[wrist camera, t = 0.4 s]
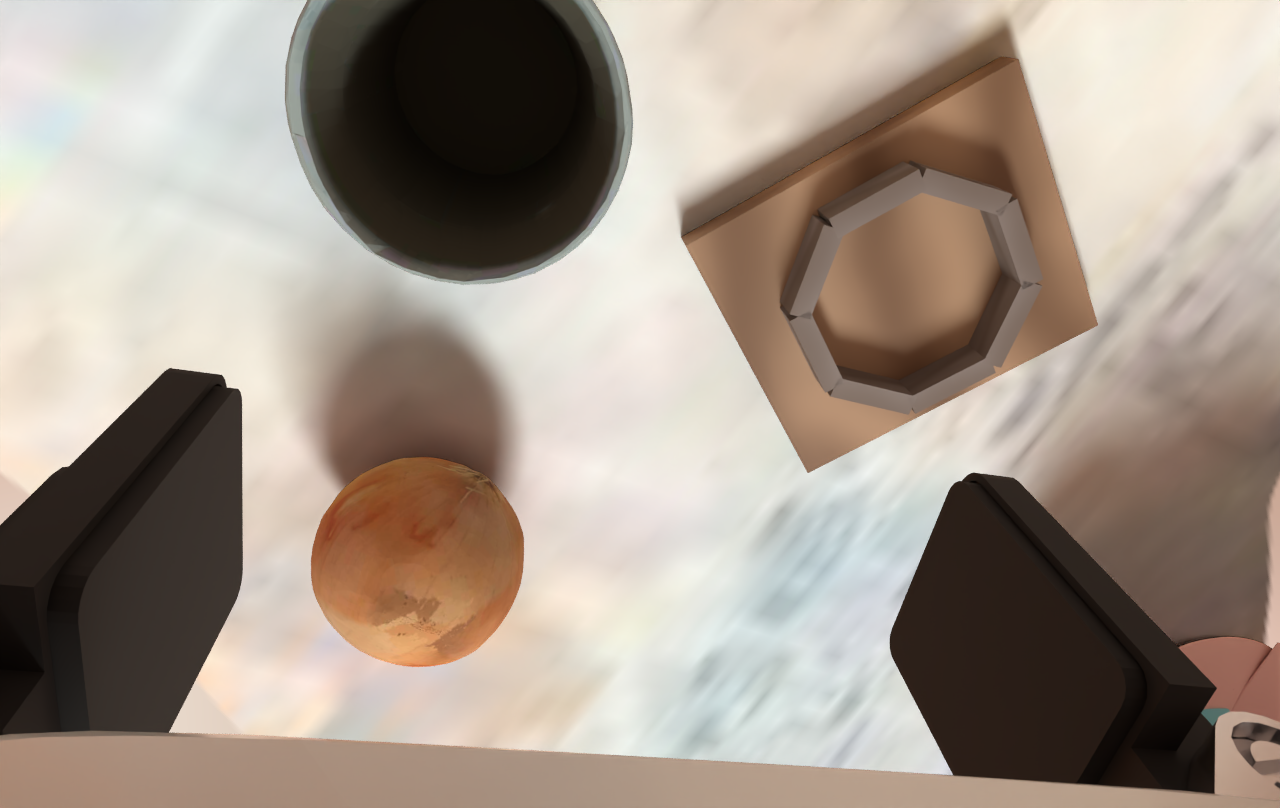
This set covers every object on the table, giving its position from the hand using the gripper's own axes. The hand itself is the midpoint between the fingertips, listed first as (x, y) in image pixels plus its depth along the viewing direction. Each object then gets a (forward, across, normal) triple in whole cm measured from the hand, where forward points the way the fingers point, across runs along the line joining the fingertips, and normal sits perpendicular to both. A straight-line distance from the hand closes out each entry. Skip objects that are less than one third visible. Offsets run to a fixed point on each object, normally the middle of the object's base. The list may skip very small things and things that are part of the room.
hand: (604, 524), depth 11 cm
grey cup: (+29, +4, -2) cm, 29 cm away
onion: (+29, +4, +19) cm, 35 cm away
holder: (+29, -17, +3) cm, 33 cm away
